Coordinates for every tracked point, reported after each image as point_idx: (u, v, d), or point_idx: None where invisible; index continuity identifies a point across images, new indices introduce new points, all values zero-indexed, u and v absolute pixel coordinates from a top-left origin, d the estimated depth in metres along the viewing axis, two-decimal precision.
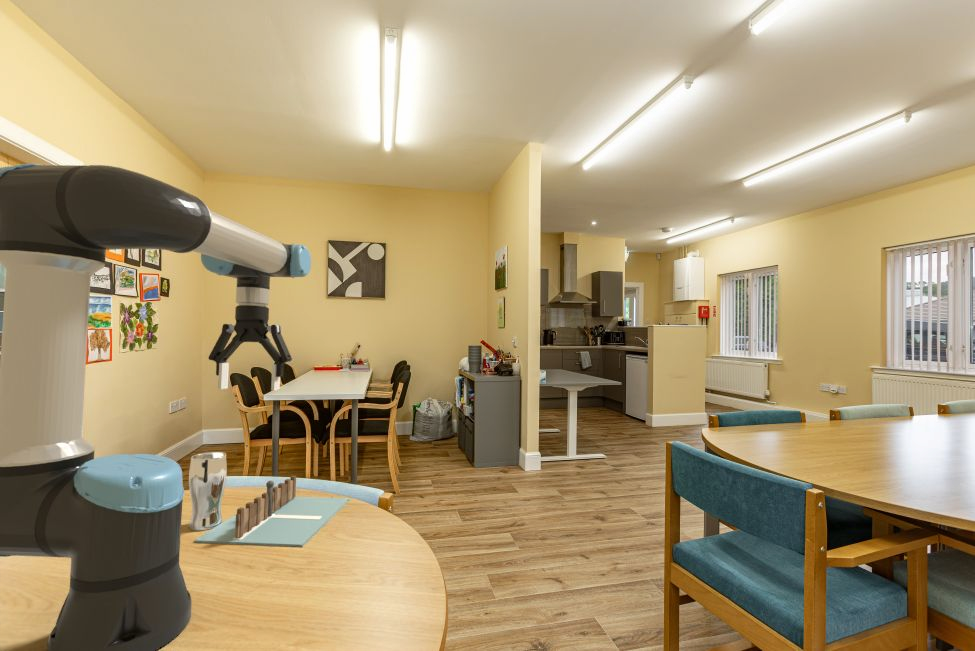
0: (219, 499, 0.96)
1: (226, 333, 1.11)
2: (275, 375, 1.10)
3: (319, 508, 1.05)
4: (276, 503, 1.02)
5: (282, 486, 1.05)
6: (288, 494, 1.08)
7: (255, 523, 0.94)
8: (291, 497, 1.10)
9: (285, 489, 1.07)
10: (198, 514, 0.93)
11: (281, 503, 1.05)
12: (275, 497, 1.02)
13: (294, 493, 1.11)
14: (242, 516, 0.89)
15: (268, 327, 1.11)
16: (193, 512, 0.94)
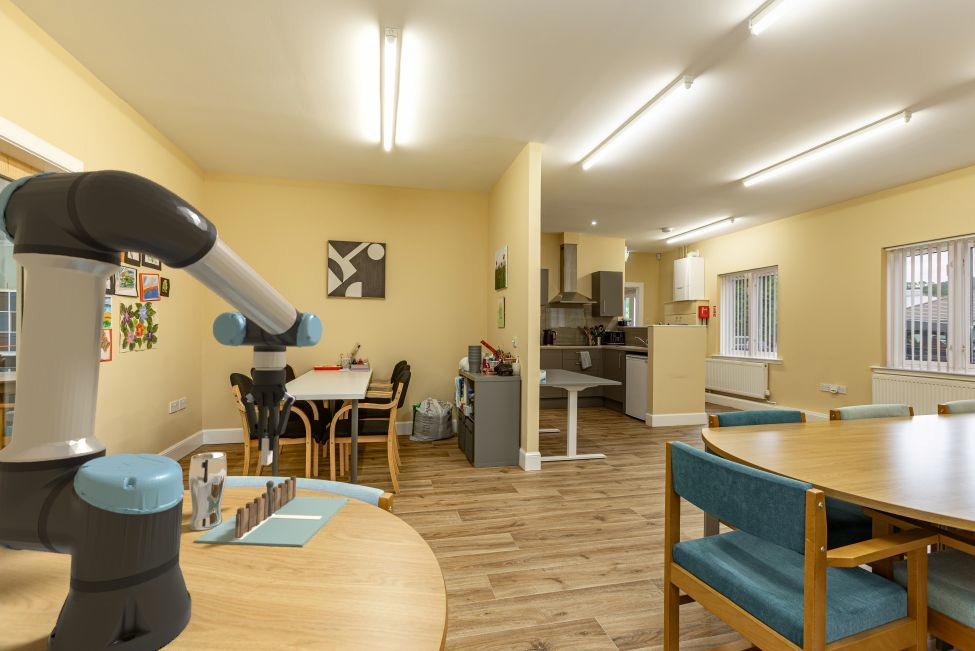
0: (219, 499, 0.96)
1: (249, 404, 1.09)
2: (268, 449, 1.08)
3: (319, 508, 1.05)
4: (276, 503, 1.02)
5: (282, 486, 1.05)
6: (288, 494, 1.08)
7: (255, 523, 0.94)
8: (291, 497, 1.10)
9: (285, 489, 1.07)
10: (198, 514, 0.93)
11: (281, 503, 1.05)
12: (275, 497, 1.02)
13: (294, 493, 1.11)
14: (242, 516, 0.89)
15: (286, 395, 1.10)
16: (193, 512, 0.94)
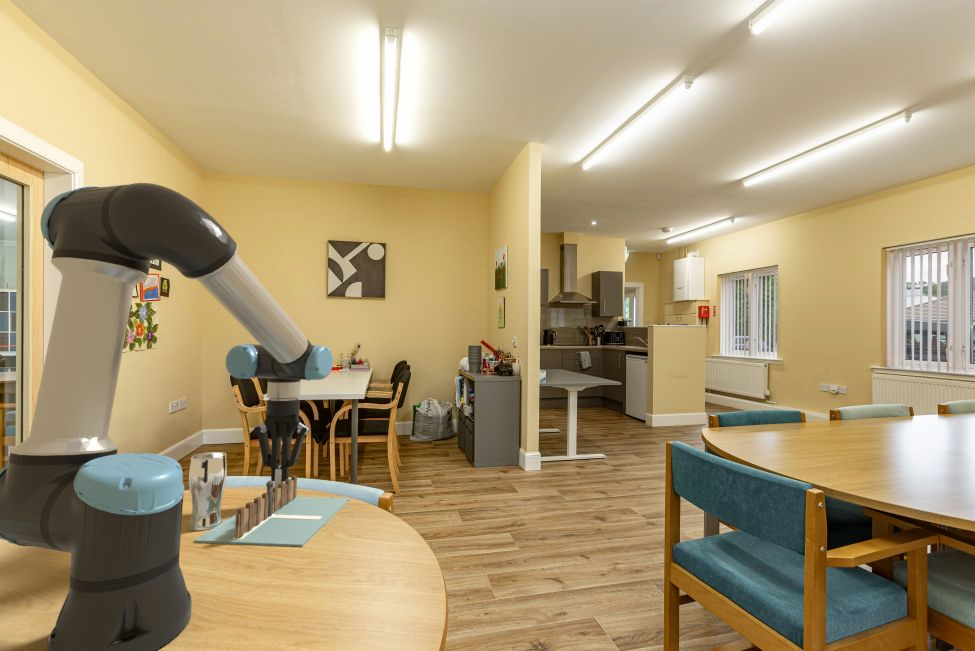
0: (219, 499, 0.96)
1: (262, 434, 1.08)
2: (281, 480, 1.08)
3: (319, 508, 1.05)
4: (276, 503, 1.02)
5: (282, 486, 1.05)
6: (289, 494, 1.08)
7: (255, 523, 0.94)
8: (292, 497, 1.10)
9: (285, 489, 1.07)
10: (198, 514, 0.93)
11: (281, 503, 1.05)
12: (275, 497, 1.02)
13: (295, 493, 1.11)
14: (242, 516, 0.89)
15: (299, 425, 1.09)
16: (193, 512, 0.94)
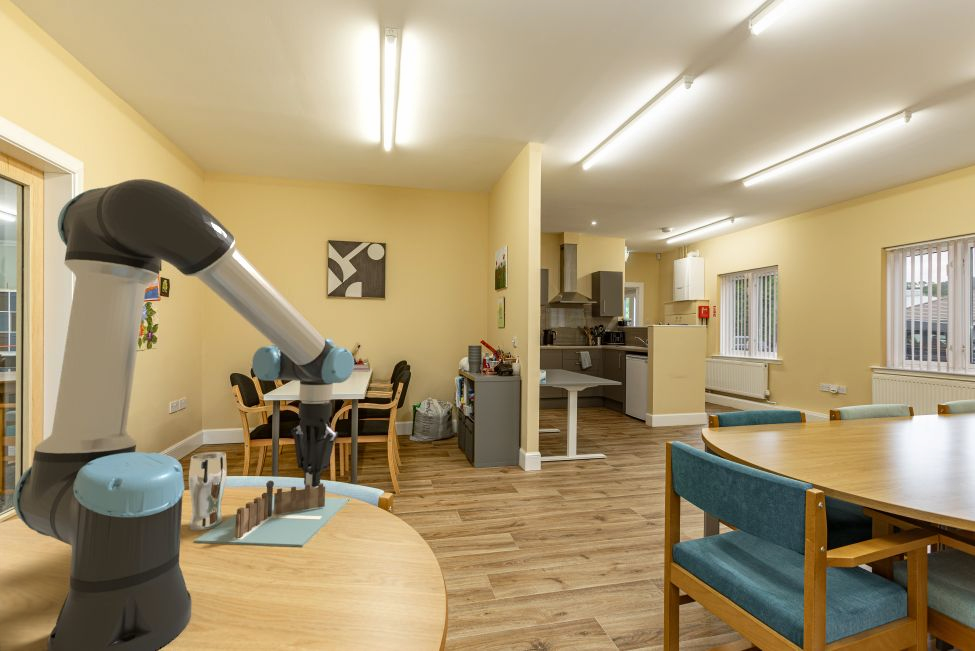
0: (219, 499, 0.96)
1: (297, 436, 1.08)
2: (311, 485, 1.05)
3: (319, 508, 1.05)
4: (279, 506, 1.01)
5: (293, 490, 1.02)
6: (306, 501, 1.04)
7: (255, 523, 0.94)
8: (315, 506, 1.05)
9: (301, 495, 1.03)
10: (198, 514, 0.93)
11: (292, 508, 1.02)
12: (278, 499, 1.01)
13: (321, 502, 1.05)
14: (242, 516, 0.89)
15: (327, 430, 1.05)
16: (193, 512, 0.94)
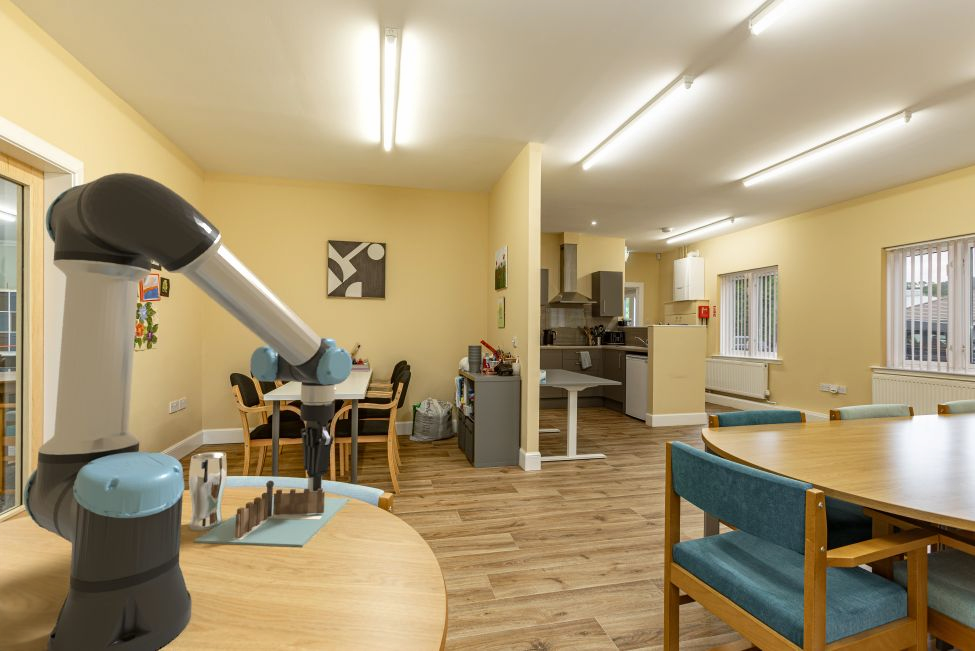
0: (219, 499, 0.96)
1: (305, 437, 1.06)
2: (311, 488, 1.02)
3: None
4: (278, 507, 1.00)
5: (291, 493, 1.01)
6: (305, 505, 1.01)
7: (255, 523, 0.94)
8: (313, 511, 1.01)
9: (299, 498, 1.01)
10: (198, 514, 0.93)
11: (290, 510, 1.00)
12: (277, 500, 1.00)
13: (319, 508, 1.01)
14: (242, 516, 0.89)
15: (323, 433, 1.01)
16: (193, 512, 0.94)
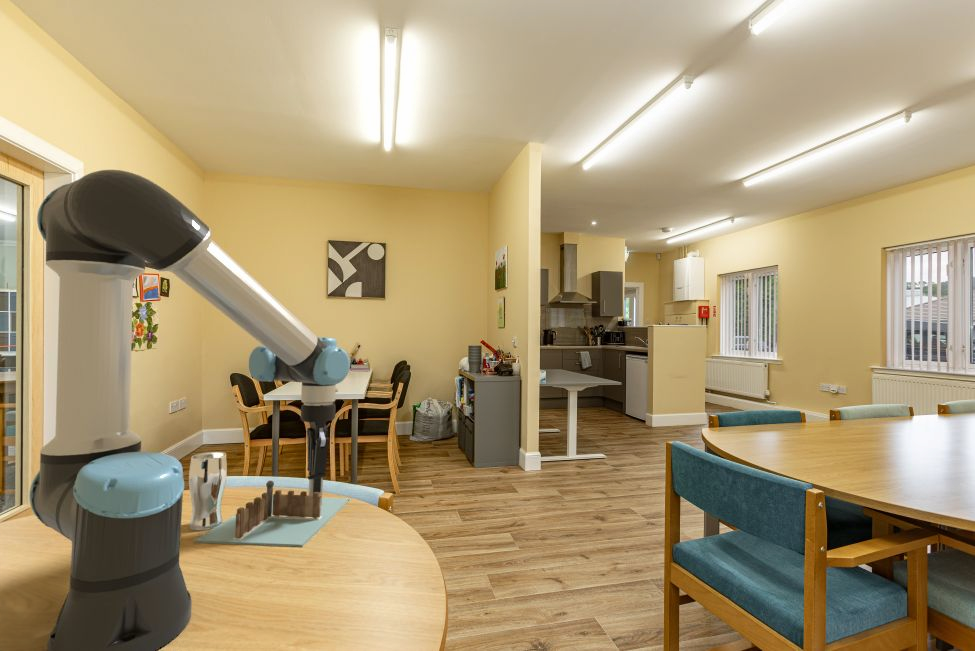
0: (219, 499, 0.96)
1: None
2: (311, 490, 1.01)
3: None
4: (277, 508, 1.00)
5: (289, 494, 0.99)
6: (301, 508, 0.99)
7: (255, 523, 0.94)
8: (310, 515, 0.99)
9: (297, 500, 0.99)
10: (198, 514, 0.93)
11: (288, 512, 0.99)
12: (276, 501, 1.00)
13: (315, 513, 0.99)
14: (242, 516, 0.89)
15: (319, 435, 0.98)
16: (193, 512, 0.94)
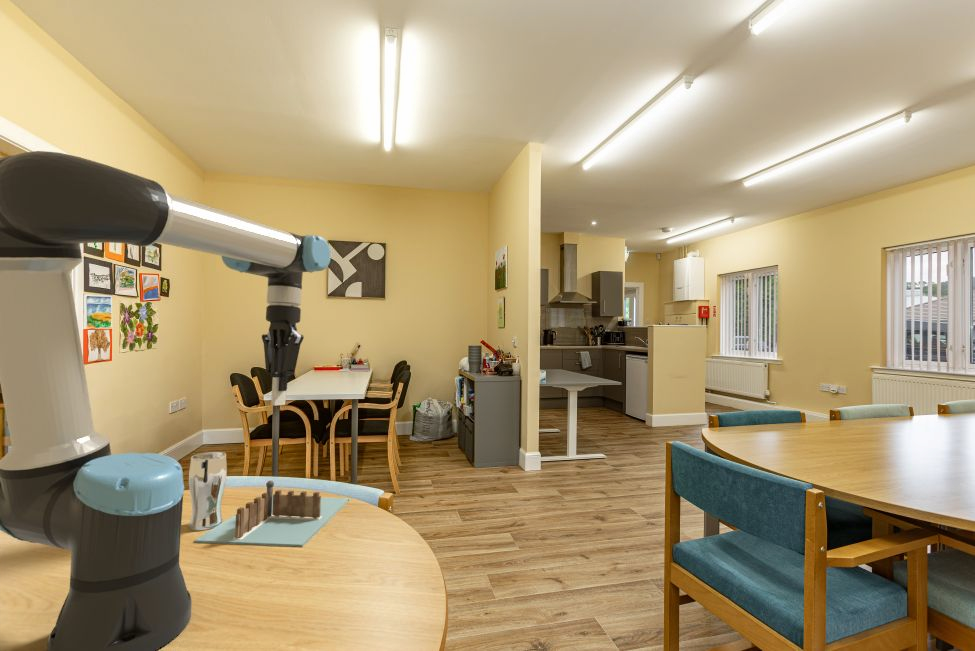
0: (219, 499, 0.96)
1: (267, 341, 1.06)
2: (277, 389, 1.03)
3: None
4: (277, 508, 1.00)
5: (289, 494, 0.99)
6: (301, 508, 0.99)
7: (255, 523, 0.94)
8: (310, 515, 0.99)
9: (297, 500, 0.99)
10: (198, 514, 0.93)
11: (288, 512, 0.99)
12: (276, 501, 1.00)
13: (315, 513, 0.99)
14: (242, 516, 0.89)
15: (292, 332, 1.03)
16: (193, 512, 0.94)
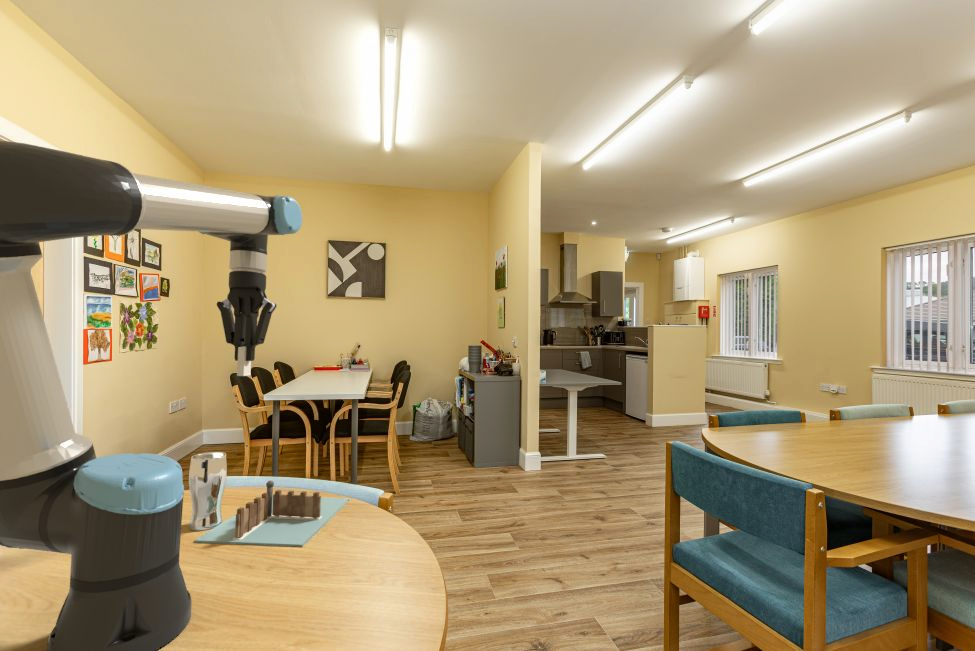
0: (219, 499, 0.96)
1: (225, 309, 1.00)
2: (245, 359, 0.99)
3: None
4: (277, 508, 1.00)
5: (289, 494, 0.99)
6: (301, 508, 0.99)
7: (255, 523, 0.94)
8: (310, 515, 0.99)
9: (297, 500, 0.99)
10: (198, 514, 0.93)
11: (288, 512, 0.99)
12: (276, 501, 1.00)
13: (315, 513, 0.99)
14: (242, 516, 0.89)
15: (264, 300, 1.00)
16: (193, 512, 0.94)
